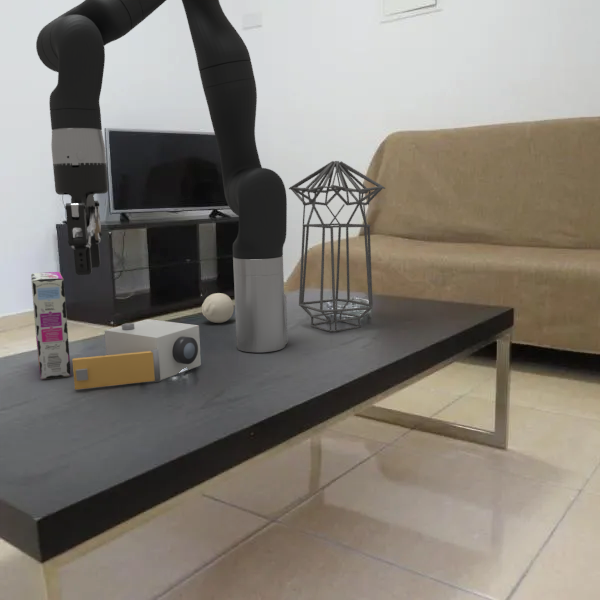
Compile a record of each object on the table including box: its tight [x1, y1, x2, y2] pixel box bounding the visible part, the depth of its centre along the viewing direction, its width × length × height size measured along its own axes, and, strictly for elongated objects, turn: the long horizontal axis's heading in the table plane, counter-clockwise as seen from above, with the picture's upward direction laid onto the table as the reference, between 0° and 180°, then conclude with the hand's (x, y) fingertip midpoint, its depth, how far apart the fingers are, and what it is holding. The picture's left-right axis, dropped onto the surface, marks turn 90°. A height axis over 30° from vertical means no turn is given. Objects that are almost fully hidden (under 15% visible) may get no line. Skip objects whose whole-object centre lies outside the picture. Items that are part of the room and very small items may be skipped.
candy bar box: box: [30, 271, 72, 380], centre depth 109 cm, size 11×5×16 cm, turn 23°
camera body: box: [103, 318, 202, 381], centre depth 109 cm, size 10×14×8 cm
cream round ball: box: [201, 292, 235, 324], centre depth 145 cm, size 7×7×7 cm
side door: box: [71, 349, 162, 390], centre depth 100 cm, size 13×2×5 cm, turn 108°
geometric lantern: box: [288, 160, 386, 333], centre depth 136 cm, size 16×16×35 cm
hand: (88, 270), depth 99 cm, fingers open, 8 cm apart
